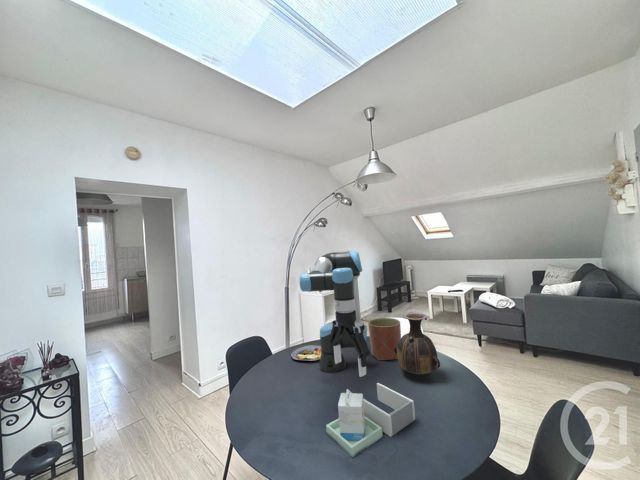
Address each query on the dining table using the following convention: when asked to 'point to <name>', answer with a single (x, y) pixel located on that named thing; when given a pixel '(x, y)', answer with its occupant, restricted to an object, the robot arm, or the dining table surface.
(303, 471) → the dining table surface
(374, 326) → the planter
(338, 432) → the tray
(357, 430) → the ink box
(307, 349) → the food plate
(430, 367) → the vase
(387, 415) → the dock
